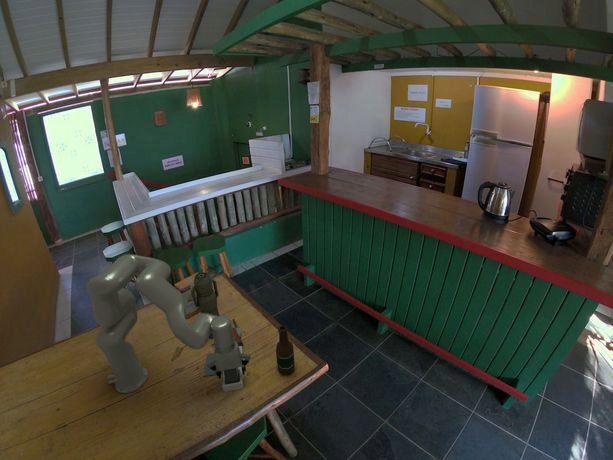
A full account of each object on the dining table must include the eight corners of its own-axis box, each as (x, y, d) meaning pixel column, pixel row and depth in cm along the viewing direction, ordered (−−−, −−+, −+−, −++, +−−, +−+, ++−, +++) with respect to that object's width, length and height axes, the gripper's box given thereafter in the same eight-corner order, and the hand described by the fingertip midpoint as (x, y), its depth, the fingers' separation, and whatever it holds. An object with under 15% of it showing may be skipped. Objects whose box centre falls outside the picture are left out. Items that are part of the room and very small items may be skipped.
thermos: (229, 329, 160) (218, 272, 144) (209, 343, 152) (195, 285, 136) (218, 321, 165) (206, 266, 149) (199, 335, 157) (184, 277, 141)
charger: (226, 384, 129) (223, 370, 125) (227, 374, 133) (223, 360, 130) (238, 382, 130) (236, 368, 126) (238, 372, 134) (236, 358, 130)
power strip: (223, 391, 129) (220, 378, 125) (225, 353, 146) (222, 341, 142) (243, 388, 130) (240, 375, 126) (242, 350, 147) (240, 338, 144)
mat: (204, 377, 135) (204, 376, 135) (206, 355, 146) (206, 354, 145) (223, 373, 136) (223, 372, 136) (224, 352, 147) (224, 351, 147)
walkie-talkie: (247, 346, 150) (235, 320, 166) (246, 339, 148) (234, 314, 164) (229, 353, 146) (219, 326, 162) (228, 346, 144) (217, 320, 160)
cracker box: (188, 320, 167) (179, 288, 157) (182, 315, 170) (173, 283, 161) (210, 306, 176) (203, 275, 167) (204, 301, 180) (197, 271, 170)
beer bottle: (275, 365, 139) (270, 324, 128) (291, 359, 142) (288, 318, 131) (281, 379, 133) (276, 337, 122) (298, 372, 135) (295, 331, 124)
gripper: (201, 355, 118) (209, 386, 126) (248, 347, 121) (253, 377, 128) (203, 340, 125) (211, 370, 132) (247, 333, 127) (252, 362, 135)
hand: (231, 374), depth 130 cm, fingers open, 9 cm apart
